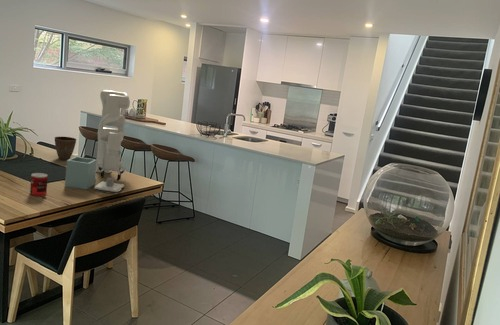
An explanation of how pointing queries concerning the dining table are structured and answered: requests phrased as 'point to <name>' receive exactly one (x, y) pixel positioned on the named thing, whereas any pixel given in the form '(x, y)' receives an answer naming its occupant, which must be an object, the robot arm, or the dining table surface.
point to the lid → (109, 185)
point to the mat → (107, 191)
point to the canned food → (38, 184)
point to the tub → (80, 172)
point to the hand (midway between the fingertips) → (110, 179)
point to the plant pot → (64, 147)
